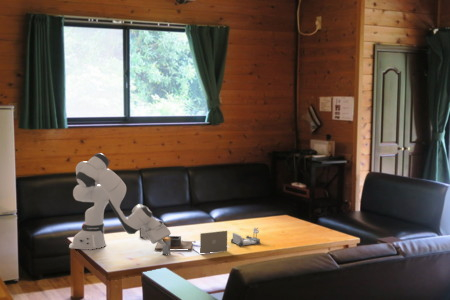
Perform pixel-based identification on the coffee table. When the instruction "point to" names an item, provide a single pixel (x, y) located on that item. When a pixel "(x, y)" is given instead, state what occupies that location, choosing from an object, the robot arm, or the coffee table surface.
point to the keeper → (176, 243)
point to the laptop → (213, 242)
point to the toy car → (242, 241)
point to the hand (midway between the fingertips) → (167, 244)
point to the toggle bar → (167, 248)
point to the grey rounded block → (143, 232)
